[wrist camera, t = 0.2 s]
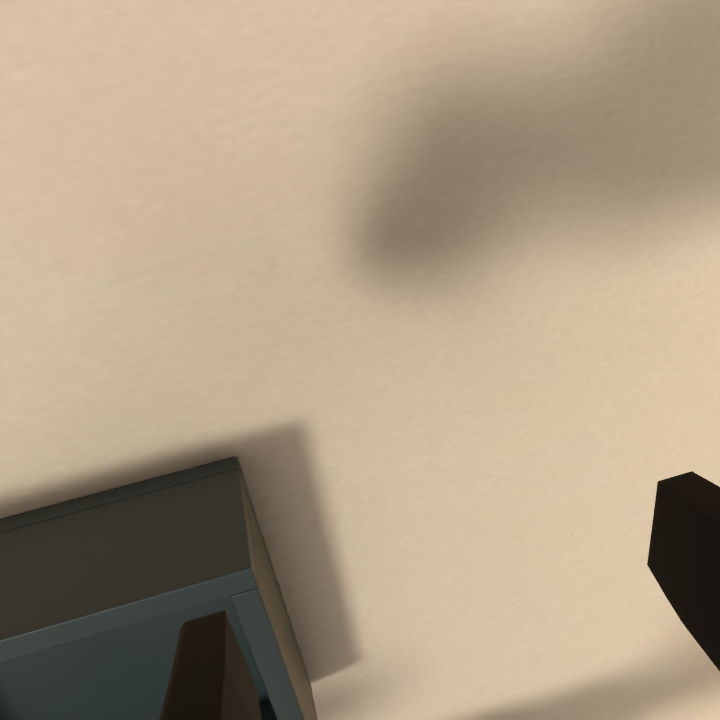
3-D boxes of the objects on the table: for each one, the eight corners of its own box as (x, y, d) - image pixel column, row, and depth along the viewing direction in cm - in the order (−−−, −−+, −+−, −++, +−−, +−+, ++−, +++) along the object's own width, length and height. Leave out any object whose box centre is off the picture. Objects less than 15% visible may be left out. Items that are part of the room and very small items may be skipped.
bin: (310, 684, 28) (333, 801, 24) (-3, 782, 26) (-32, 923, 23) (236, 455, 21) (251, 567, 17) (-192, 570, 20) (-280, 721, 16)
